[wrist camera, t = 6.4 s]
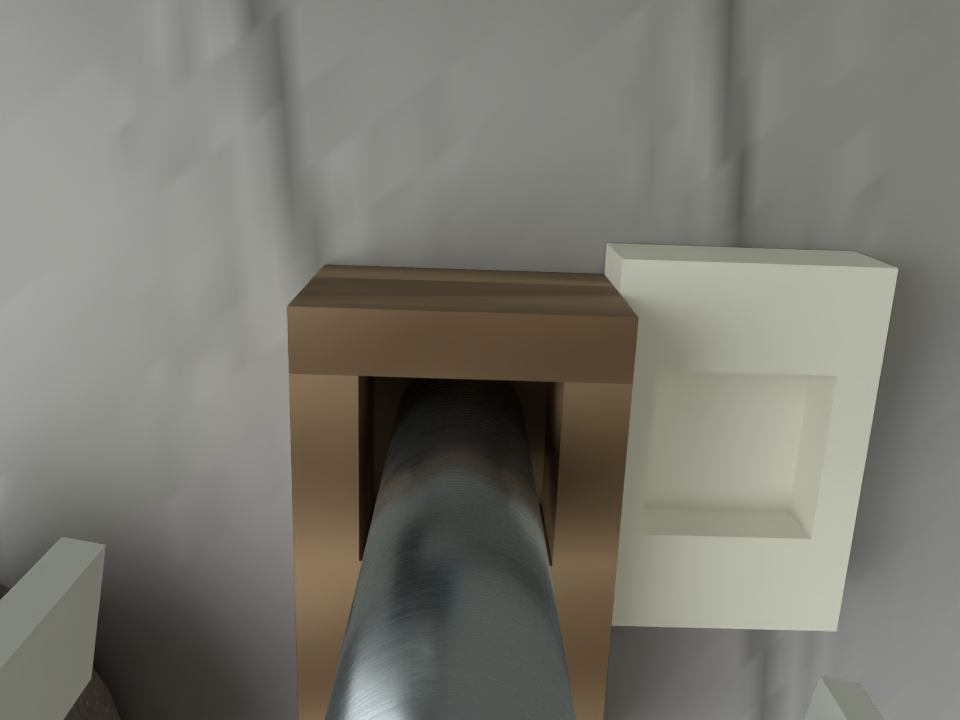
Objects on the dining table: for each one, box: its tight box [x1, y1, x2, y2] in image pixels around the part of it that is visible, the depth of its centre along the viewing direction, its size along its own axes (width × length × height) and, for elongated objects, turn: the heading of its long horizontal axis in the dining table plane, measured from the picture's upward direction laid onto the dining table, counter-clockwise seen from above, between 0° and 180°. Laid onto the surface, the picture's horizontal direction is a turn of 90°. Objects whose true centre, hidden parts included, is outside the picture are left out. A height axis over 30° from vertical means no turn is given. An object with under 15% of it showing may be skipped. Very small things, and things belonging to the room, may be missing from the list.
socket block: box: [287, 265, 639, 720], centre depth 28 cm, size 18×9×6 cm, turn 178°
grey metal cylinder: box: [325, 378, 576, 720], centre depth 20 cm, size 4×4×17 cm
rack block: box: [604, 243, 898, 631], centre depth 28 cm, size 12×8×3 cm, turn 178°
